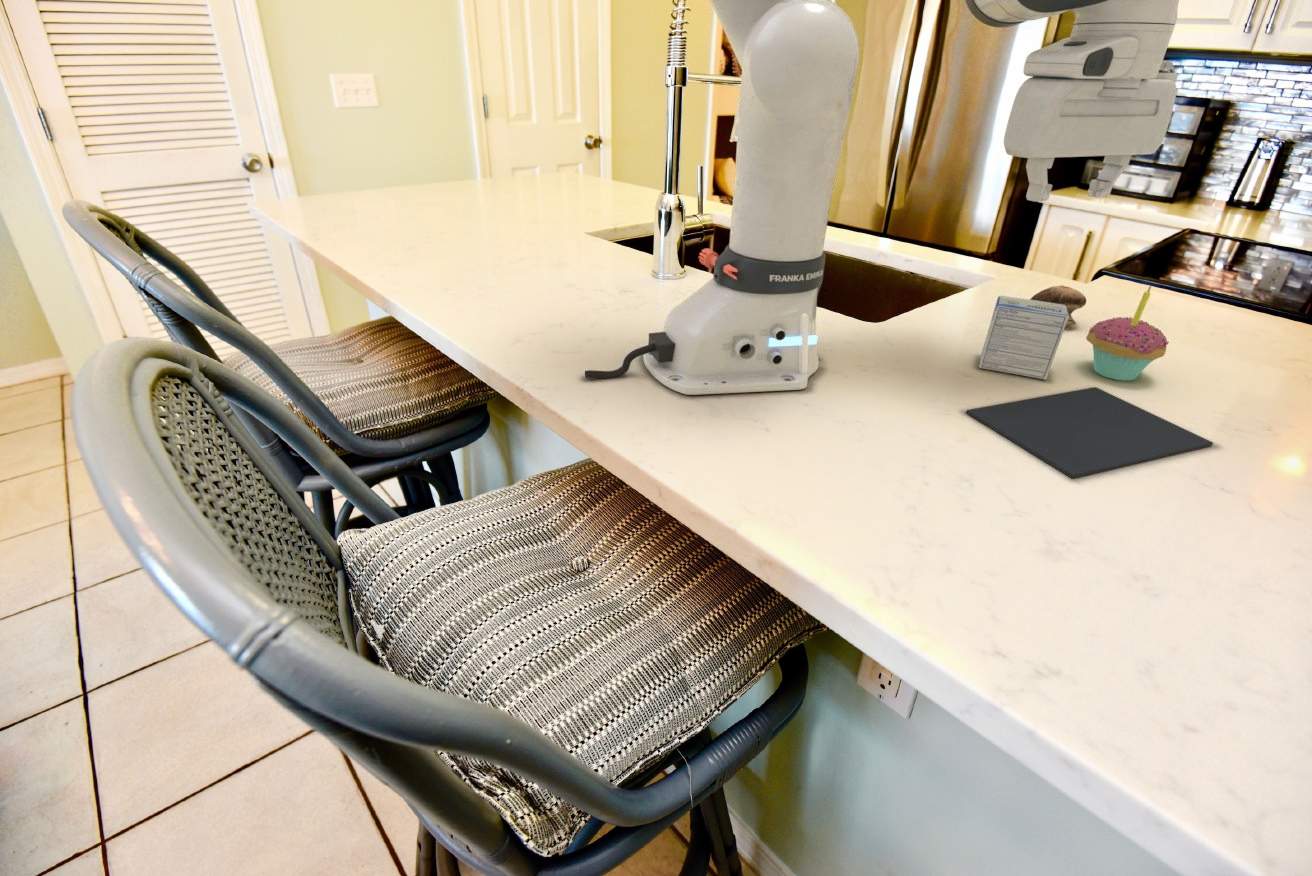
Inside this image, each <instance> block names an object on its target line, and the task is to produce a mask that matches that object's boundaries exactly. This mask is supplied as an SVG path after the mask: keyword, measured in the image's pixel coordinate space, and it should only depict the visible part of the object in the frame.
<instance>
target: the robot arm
mask: <svg viewBox="0 0 1312 876" xmlns="http://www.w3.org/2000/svg"><path fill="white" fill-rule="evenodd" d="M709 2H710V4H711V6H712V8H713V10H714V12H715V14H716V17H717V19H718V21H719V23H720V25H721V27H722V29H723V32H724V34H725V36H726V38H727V41H728V43H729V45H730V46H731V48H732V49H731V50H732V51H733V53H734V55H735V58H736V60H737V62H738V64H739V67H740V69H741V77H740V79H741V80H740V93H739V105H738V106H739V107H738V121H737V136H736V137H737V138H736V153H735V170H734V183H733V193H732V194H733V195H732V208H731V219H730V229H729V230H730V231H729V241H728V242H729V243H728V244H727V245H726V247H725V249H724V250H723V251H722V252H721V253H720V254H718V253H717V252H716V251H714V250H712V249H711V248H708V247H707V248H703V249H701V252H699V254H698V255H699V256H698V261H699V262H700V264H701V265H703V266H705V267H706V268H708V269H713V274H712V278H711V279H710V280H708V281H707V282H706V283H704V284H703V285H702V286H701V287H699V288H698V289H697V290H695V292H693V293H692V294H691V295H689V296H688V297H687V298H685V299H684V300H682V301H681V302H680V303H678V304H677V305H675V306H674V307H673V308H672V309H671V310H670V311H669V313H668V314H667V316H666V319H665V321H664V325H663V328H662V331H658V332H649V333H648V344H647V345H644V346H641V347H640V346H639V347H638V348H635V349H633V350H632V351H630V352H629V353H627V355H626V356H625V357H624V359H623V360H622V365H621V366H620V367H618V368H617V369H613V370H594V369H593V370H592V369H589V370H584V377H585V379H615V378H619V377H621V376H623V375H625V374H626V373H627V372H628V371H629V370H630V367H631V363H632V362H633V361H634V360H635V359H637V358H639V357H641V356H643V358H642V361H643V363H644V366H645V367H646V369H647V370H648V372H649V373H650V374H651V376H653V377H654V378H655V379H656V380H657V381H658V382H659V383H661V384H662V385H663V386H665V387H667V388H669V389H670V390H672V391H674V392H677V393H680V394H683V395H687V396H688V395H689V396H694V395H695V396H696V395H715V394H718V395H719V394H737V393H738V394H739V393H758V392H760V393H761V392H777V391H778V392H781V391H797V390H803V389H806V388H807V387H808V382H809V378H810V377H811V376H812V375H813V374H815V373H816V372H817V370H818V369H819V366H820V363H819V357H818V347H817V342H818V335H817V303H818V295H819V292H820V289H821V287H822V284H823V281H824V275H825V264H826V257H827V256H826V252H825V251H824V248H825V241H826V234H827V228H828V221H829V215H830V209H831V202H832V197H833V196H832V195H833V190H834V184H835V179H836V174H837V170H838V166H839V161H840V157H841V153H842V148H843V144H844V139H845V134H846V130H847V125H848V122H849V115H850V110H851V105H852V100H853V96H854V90H855V86H856V79H857V76H858V75H857V74H858V69H859V63H860V62H859V61H860V44H859V39H858V34H857V31H856V28H855V26H854V24H853V22H852V20H851V19H850V17H849V16H848V14H847V13H846V11H844V10H843V9H842V8H841V7H840V6H839V5H837V4H836V3H835V2H834V1H832V0H709ZM965 3H966V6H967V8H968V10H969V11H970V13H971V14H972V16H974V18H976V20H978V21H979V22H980V23H982V24H984V25H986V26H989V27H992V28H1000V29H1001V28H1003V29H1004V28H1010V27H1014V26H1017V25H1020V24H1022V23H1026V22H1029V21H1036V20H1040V19H1041V20H1042V19H1045V18H1050V17H1051V18H1052V17H1055V16H1058V15H1061V14H1064V13H1066V12H1069V11H1070V12H1072V13H1073V14H1074V22H1073V25H1072V29H1071V32H1070V36H1068V37H1064V38H1062V39H1060V40H1058V41H1056V42H1054V43H1051V44H1048V45H1046V46H1044V47H1041V48H1039V49H1037V50H1034V51H1032V52H1030V53H1029V54H1028V55H1027V57H1026V58H1025V61H1024V66H1023V69H1022V71H1023V74H1024V76H1026V77H1029V78H1027V79H1026V80H1025V81H1023V82H1022V83H1021V85H1020V87H1019V88H1018V90H1017V92H1016V95H1015V97H1014V100H1013V103H1012V106H1011V110H1010V113H1009V116H1008V121H1007V122H1006V123H1007V124H1006V128H1005V131H1004V136H1003V146H1004V150H1005V153H1006V155H1008V156H1012V157H1017V158H1023V159H1024V158H1025V159H1027V161H1026V165H1025V168H1026V174H1027V179H1028V183H1029V185H1028V188H1027V191H1026V195H1025V198H1026V200H1027V201H1031V202H1036V203H1037V202H1046V201H1048V200H1049V198H1050V193H1051V192H1052V189H1053V184H1050V183H1048V181H1049V180H1048V170H1049V169H1052V167H1053V165H1054V161H1055V158H1078V157H1079V158H1080V157H1081V158H1082V157H1104V158H1103V161H1102V164H1104V167H1103V168H1102V170H1101V171H1100V172H1099V175H1098V176H1097V177H1096V179H1091V180H1090V182H1089V188H1088V189H1087V192H1086V195H1087V197H1092V198H1096V199H1101V198H1102V199H1103V198H1107V197H1109V196H1110V195H1111V192H1112V190H1113V186H1114V184H1115V182H1116V181H1117V180H1118V179H1119V177H1120V176H1121V175H1122V174H1123V173H1124V171H1125V170H1126V169H1127V168H1128V166H1129V164H1130V162H1131V158H1132V156H1139V155H1140V156H1143V155H1153V154H1155V152H1156V151H1158V149H1159V148H1160V147H1161V145H1162V144H1163V142H1164V140H1165V138H1166V134H1167V131H1168V127H1169V125H1170V121H1171V117H1172V113H1173V110H1174V106H1175V102H1176V96H1177V85H1176V82H1177V77H1178V73H1177V72H1176V69H1175V67H1174V63H1173V62H1172V61H1171V60H1168V59H1167V60H1166V59H1165V55H1166V52H1167V50H1168V46H1169V44H1170V41H1171V38H1172V35H1173V33H1174V30H1175V28H1176V26H1175V25H1176V23H1177V20H1178V9H1179V3H1180V0H965ZM1164 59H1165V60H1164Z"/></svg>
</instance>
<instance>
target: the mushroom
mask: <svg viewBox="0 0 1312 876" xmlns="http://www.w3.org/2000/svg"><path fill="white" fill-rule="evenodd" d="M1029 300H1036V301H1043V302H1049V303H1056V304H1062V305H1065V306H1066V308H1067V312H1068V316H1069V319H1068V321H1067V323H1066V326H1065V327H1071V326H1074V325H1076V321H1075V319H1074V318H1073V316H1072V313H1074V311H1077V310H1079V309H1082V308H1083V307H1085V306H1086V304H1087V297H1086V296H1085V295H1084V294H1083V293H1082V292H1080V291H1079V290H1077V289H1075V288H1073V287H1070V286H1065V285H1055V286H1051V287H1048V288H1045V289H1042V290H1040V291H1039V292H1037V293H1036V294H1034V295H1033V296H1031V298H1030V299H1029Z"/></svg>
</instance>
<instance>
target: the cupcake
mask: <svg viewBox="0 0 1312 876" xmlns="http://www.w3.org/2000/svg"><path fill="white" fill-rule="evenodd" d="M1151 288H1152V285H1149V286H1148V289H1147V290H1145V291H1144V292H1143V294H1142V296H1141V299H1140V301H1139V304H1138V306H1137V308H1136V311H1135V312H1134V315H1133V317H1131V316H1130V317H1127V316H1126V317H1125V316H1124V317H1121V316H1120V317H1119V316H1118V317H1113V318H1108V319H1105V320H1101V321H1098V322H1097V323H1095V324H1094V325H1092V326H1091V327H1089V330H1088V333H1087V335H1086V341H1087V342H1088V343H1090V344H1091V345H1092V351H1093V353H1092V354H1093V371H1094V372H1095V373H1096V374H1098V375H1099V376H1102V377H1104V378H1107V379H1111V380H1116V381H1123V382H1128V381H1129V382H1131V381H1134V380H1136V379H1137V378H1138V377H1139V375H1140V374H1142V372H1143V371H1144V370H1145V369H1146V368H1147V367H1148V366H1149V365H1150V364H1151V363H1152V362H1154V361H1155V360H1157V359H1160V358H1162V357H1164V356H1165V354H1166V352H1167V345H1168V346H1169V343H1170V342H1169V340H1168V339H1167V337H1166V335H1165V334H1164V333H1163V332H1162V330H1161V329H1159V328H1158V327H1155V326H1154V325H1152V324H1150V323H1148V322H1147V321H1144V320H1143V319H1141V318H1142V314H1143V312H1144V310H1145V307H1146V305H1147V303H1148V301H1149V299H1150V296H1151V294H1152V292H1151Z"/></svg>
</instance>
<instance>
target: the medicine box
mask: <svg viewBox="0 0 1312 876" xmlns="http://www.w3.org/2000/svg"><path fill="white" fill-rule="evenodd" d="M995 302H996V303H995V306H994V308H993V313H992V316H991V320H990V322H989V326H988V329H987V333H986V336H985V339H984V343H983V346H982V351H981V354H980V358H979V359H980V360H979V366H978V367H979V369H984V370H990V371H994V372H1001V373H1007V374H1011V375H1018V376H1024V377H1030V378H1034V379H1040V380H1047V379H1048V376H1049V373H1050V370H1051V368H1052V365H1053V362H1054V360H1055V356H1056V353H1057V351H1058V349H1059V348H1058V347H1059V345H1060V342H1061V340H1062V337H1063V334H1064V331H1065V329H1066V327H1067V326H1066V323H1067V321H1068V319H1069V316H1068V312H1067V308H1066V306H1065V305H1062V304H1056V303H1049V302H1043V301H1036V300H1030V299H1028V298H1021V297H1014V296H1005V295H998V296H997V299H996V301H995Z"/></svg>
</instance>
